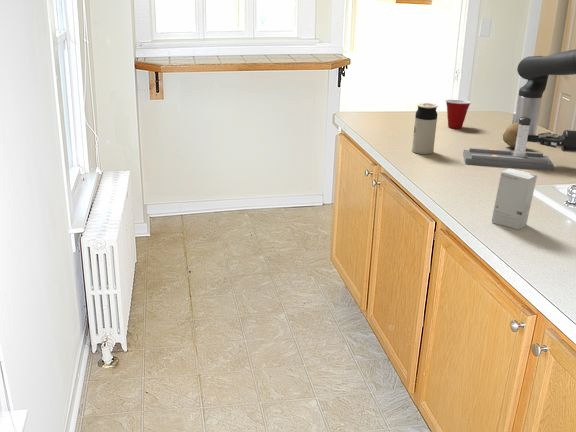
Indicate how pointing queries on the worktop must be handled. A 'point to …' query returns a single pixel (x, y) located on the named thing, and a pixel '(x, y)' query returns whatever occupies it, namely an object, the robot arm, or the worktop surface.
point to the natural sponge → (511, 135)
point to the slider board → (506, 159)
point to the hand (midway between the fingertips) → (526, 138)
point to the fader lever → (521, 138)
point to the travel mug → (425, 128)
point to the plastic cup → (456, 112)
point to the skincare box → (514, 198)
